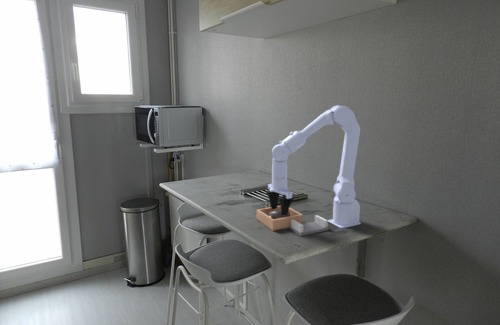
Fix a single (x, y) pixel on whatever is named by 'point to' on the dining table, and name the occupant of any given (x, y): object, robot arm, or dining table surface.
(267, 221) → the bin
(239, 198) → the dining table surface
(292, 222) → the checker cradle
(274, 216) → the cell
